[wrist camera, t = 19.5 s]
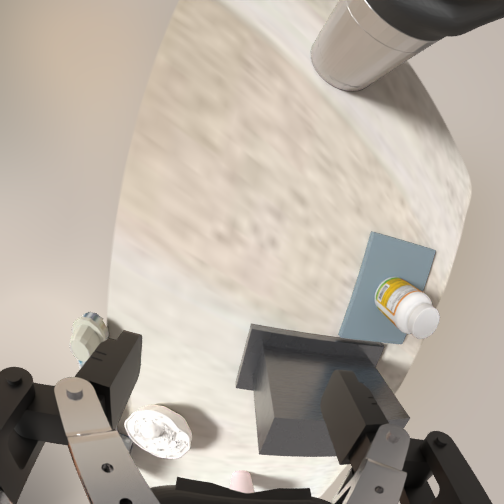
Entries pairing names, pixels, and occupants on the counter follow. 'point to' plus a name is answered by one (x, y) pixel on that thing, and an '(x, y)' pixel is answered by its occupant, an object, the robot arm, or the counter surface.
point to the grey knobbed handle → (87, 337)
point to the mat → (372, 275)
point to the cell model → (159, 431)
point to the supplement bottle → (407, 307)
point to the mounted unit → (305, 386)
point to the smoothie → (242, 482)
